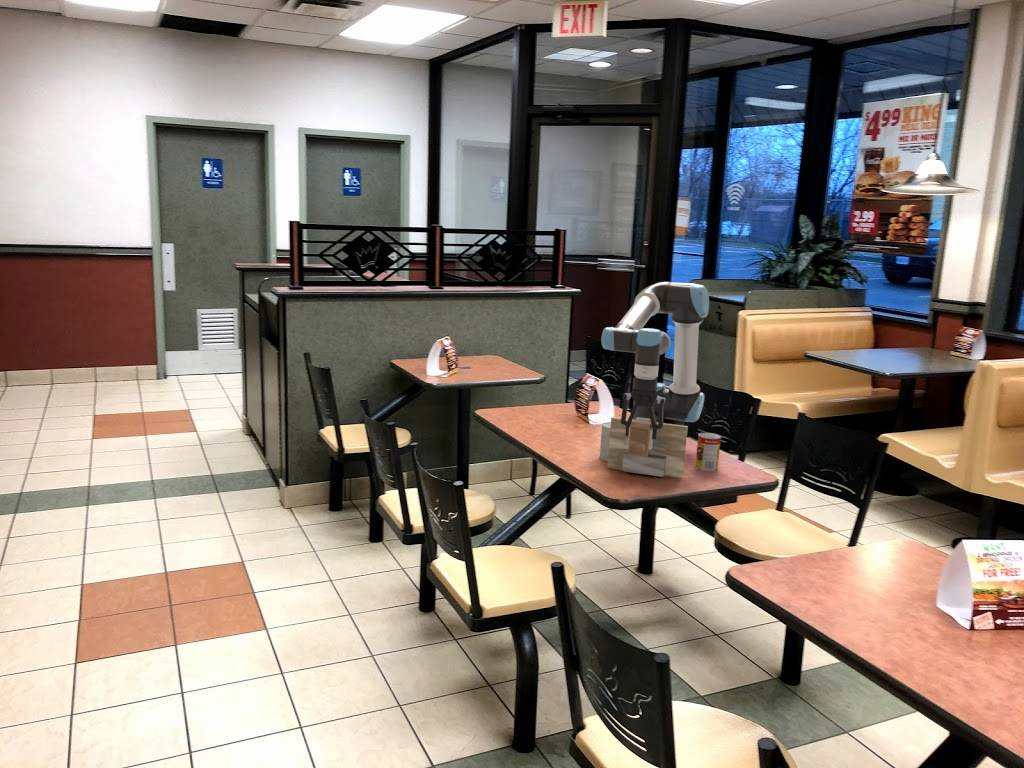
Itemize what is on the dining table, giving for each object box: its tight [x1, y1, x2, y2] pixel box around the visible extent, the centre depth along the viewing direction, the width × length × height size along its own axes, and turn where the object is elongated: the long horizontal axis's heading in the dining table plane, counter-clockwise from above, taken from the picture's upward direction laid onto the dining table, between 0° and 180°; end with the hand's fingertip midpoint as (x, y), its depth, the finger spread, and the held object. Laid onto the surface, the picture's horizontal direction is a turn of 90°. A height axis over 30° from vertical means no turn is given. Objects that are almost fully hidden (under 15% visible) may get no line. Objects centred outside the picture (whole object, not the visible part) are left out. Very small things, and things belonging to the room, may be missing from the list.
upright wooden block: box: [628, 417, 652, 457], centre depth 270 cm, size 13×6×10 cm, turn 162°
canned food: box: [694, 432, 722, 472], centre depth 295 cm, size 8×8×12 cm
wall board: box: [607, 416, 689, 479], centre depth 284 cm, size 6×26×18 cm, turn 72°
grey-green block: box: [598, 421, 611, 462], centre depth 302 cm, size 10×10×12 cm
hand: (639, 447), depth 269 cm, fingers closed on upright wooden block, 6 cm apart
